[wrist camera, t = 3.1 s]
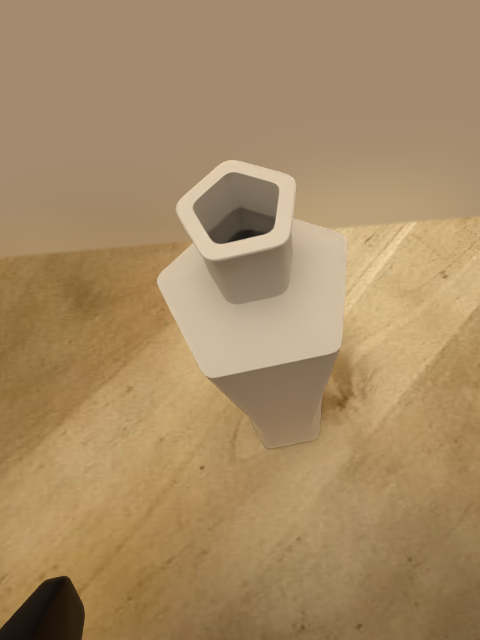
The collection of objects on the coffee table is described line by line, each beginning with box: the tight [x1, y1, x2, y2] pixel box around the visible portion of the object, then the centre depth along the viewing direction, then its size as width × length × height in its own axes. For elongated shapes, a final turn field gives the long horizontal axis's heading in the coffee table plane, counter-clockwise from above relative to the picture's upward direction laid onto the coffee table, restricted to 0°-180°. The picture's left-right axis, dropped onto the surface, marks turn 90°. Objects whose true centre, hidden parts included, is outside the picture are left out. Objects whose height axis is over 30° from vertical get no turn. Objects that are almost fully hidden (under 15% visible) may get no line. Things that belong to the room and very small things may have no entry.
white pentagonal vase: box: [157, 160, 348, 449], centre depth 14 cm, size 5×4×15 cm
